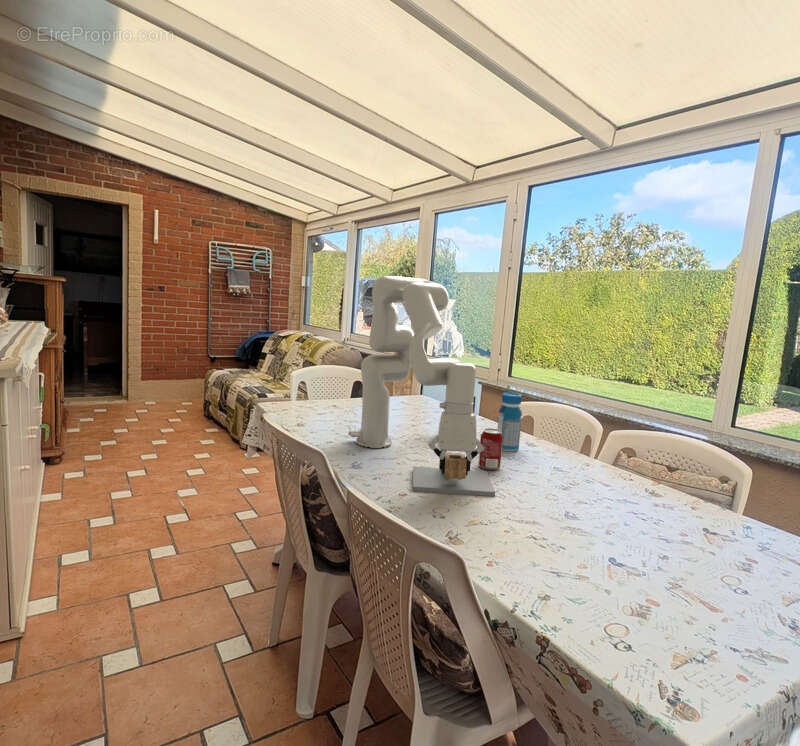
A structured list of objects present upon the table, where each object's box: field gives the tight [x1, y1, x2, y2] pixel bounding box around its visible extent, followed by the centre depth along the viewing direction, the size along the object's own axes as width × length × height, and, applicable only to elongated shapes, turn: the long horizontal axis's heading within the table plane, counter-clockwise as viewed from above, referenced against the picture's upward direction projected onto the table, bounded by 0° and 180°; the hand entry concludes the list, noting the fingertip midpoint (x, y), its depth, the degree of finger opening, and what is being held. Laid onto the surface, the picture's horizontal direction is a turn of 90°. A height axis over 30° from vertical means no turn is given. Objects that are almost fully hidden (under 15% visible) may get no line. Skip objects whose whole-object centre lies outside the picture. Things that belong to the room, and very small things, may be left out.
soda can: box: [477, 427, 503, 471], centre depth 148 cm, size 7×7×12 cm
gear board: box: [412, 451, 496, 497], centre depth 133 cm, size 22×16×6 cm
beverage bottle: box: [496, 392, 523, 452], centre depth 168 cm, size 8×8×20 cm
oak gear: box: [444, 452, 467, 480], centre depth 128 cm, size 6×7×5 cm
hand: (454, 472), depth 129 cm, fingers closed on oak gear, 5 cm apart
